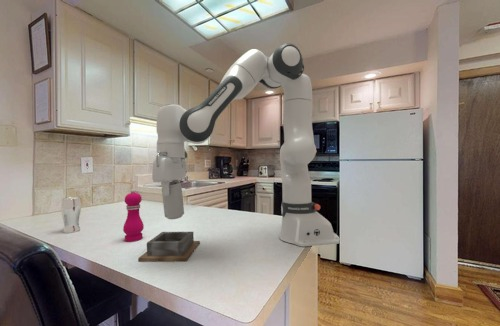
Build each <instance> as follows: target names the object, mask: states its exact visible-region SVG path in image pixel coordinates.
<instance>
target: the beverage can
mask: <svg viewBox="0 0 500 326" xmlns="http://www.w3.org/2000/svg"><path fill="white" fill-rule="evenodd" d="M169 189H170V191H171V192H170V193H171V194H170V195H168V196H164V195H163V188H162V187H161V194H162V195H161V196H162V205H163V213H164V214H163V215H164V218H166V219H168V220H178V219H180V218H182V217H183V215H184V214H185V207H184V199H183V198H184V197H183V187H182V184H181V181H180V182H179V181H170V184H169Z"/></svg>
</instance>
